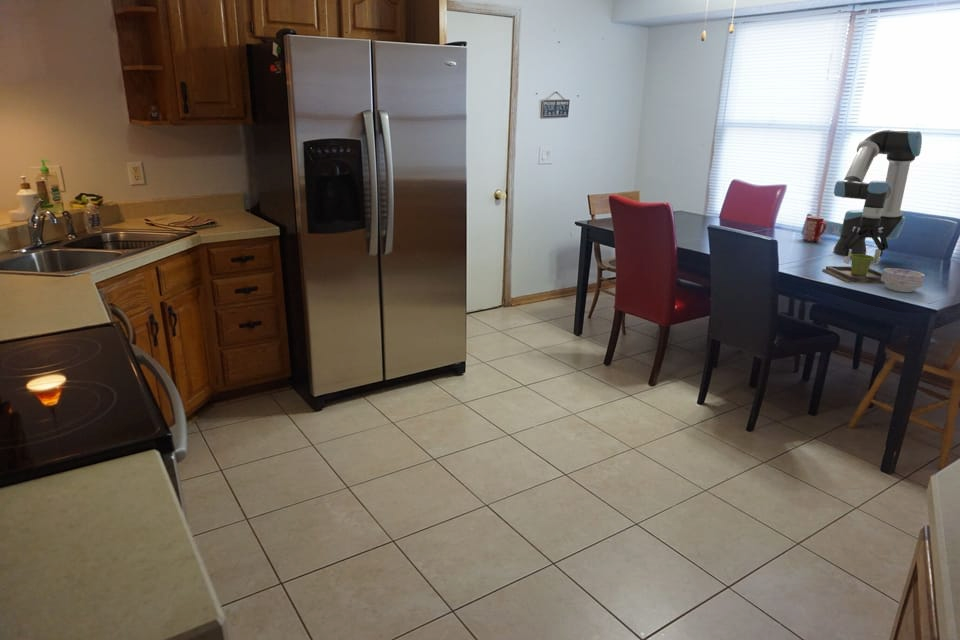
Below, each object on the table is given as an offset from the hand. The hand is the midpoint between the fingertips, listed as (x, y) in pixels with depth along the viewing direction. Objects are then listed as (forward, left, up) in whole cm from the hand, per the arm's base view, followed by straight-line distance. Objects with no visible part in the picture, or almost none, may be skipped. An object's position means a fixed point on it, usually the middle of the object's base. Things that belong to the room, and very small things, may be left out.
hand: (860, 263), depth 287 cm
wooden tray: (0, 0, -6) cm, 6 cm away
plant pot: (0, 0, -6) cm, 6 cm away
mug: (-23, -80, -7) cm, 83 cm away
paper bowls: (-6, +20, -7) cm, 22 cm away
